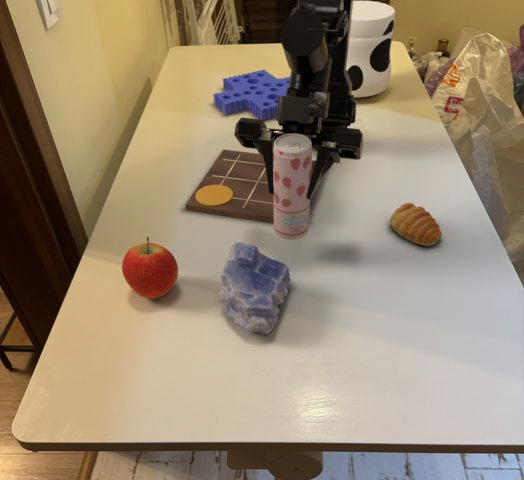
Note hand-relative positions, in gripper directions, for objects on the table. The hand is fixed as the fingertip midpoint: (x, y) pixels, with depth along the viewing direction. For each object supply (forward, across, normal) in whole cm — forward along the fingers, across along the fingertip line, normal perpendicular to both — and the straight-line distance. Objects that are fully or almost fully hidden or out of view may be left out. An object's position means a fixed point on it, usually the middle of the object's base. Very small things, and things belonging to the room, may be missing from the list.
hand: (289, 196), depth 78 cm
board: (-6, -11, +24) cm, 27 cm away
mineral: (+17, -3, 0) cm, 18 cm away
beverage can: (+4, 0, +6) cm, 7 cm away
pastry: (0, +20, +18) cm, 27 cm away
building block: (-34, -21, +53) cm, 66 cm away
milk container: (-41, +1, +60) cm, 72 cm away
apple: (+18, -19, 0) cm, 26 cm away
